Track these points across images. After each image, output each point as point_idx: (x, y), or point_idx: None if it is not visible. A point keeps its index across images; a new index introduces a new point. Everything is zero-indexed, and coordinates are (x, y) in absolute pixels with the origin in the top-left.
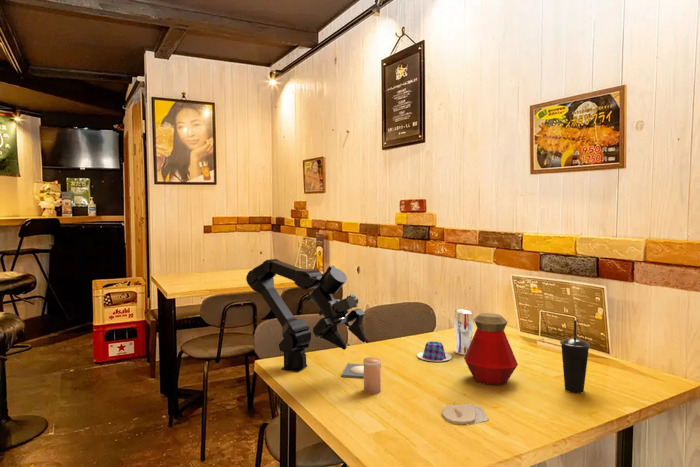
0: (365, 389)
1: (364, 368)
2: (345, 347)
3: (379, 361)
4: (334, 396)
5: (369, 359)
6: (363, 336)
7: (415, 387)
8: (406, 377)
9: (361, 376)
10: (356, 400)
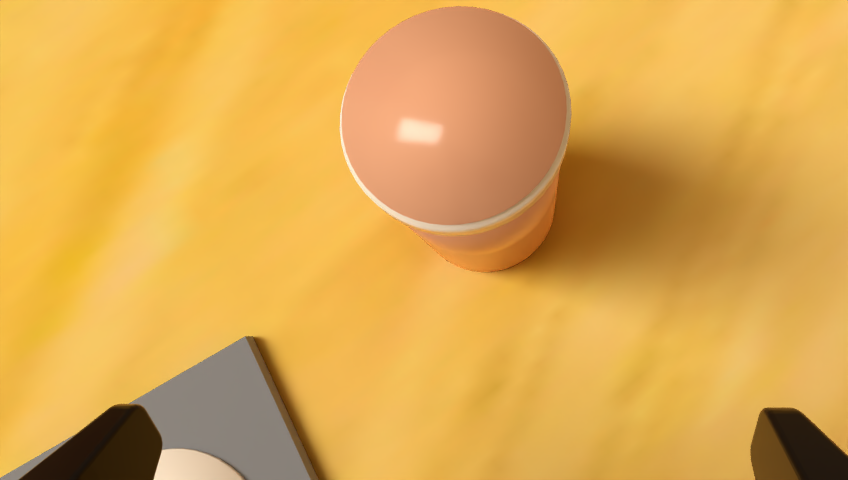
0: (553, 214)
1: (551, 185)
2: (800, 419)
3: (438, 10)
4: (803, 375)
5: (461, 145)
6: (76, 468)
7: (234, 12)
8: (102, 175)
9: (302, 460)
10: (729, 174)
